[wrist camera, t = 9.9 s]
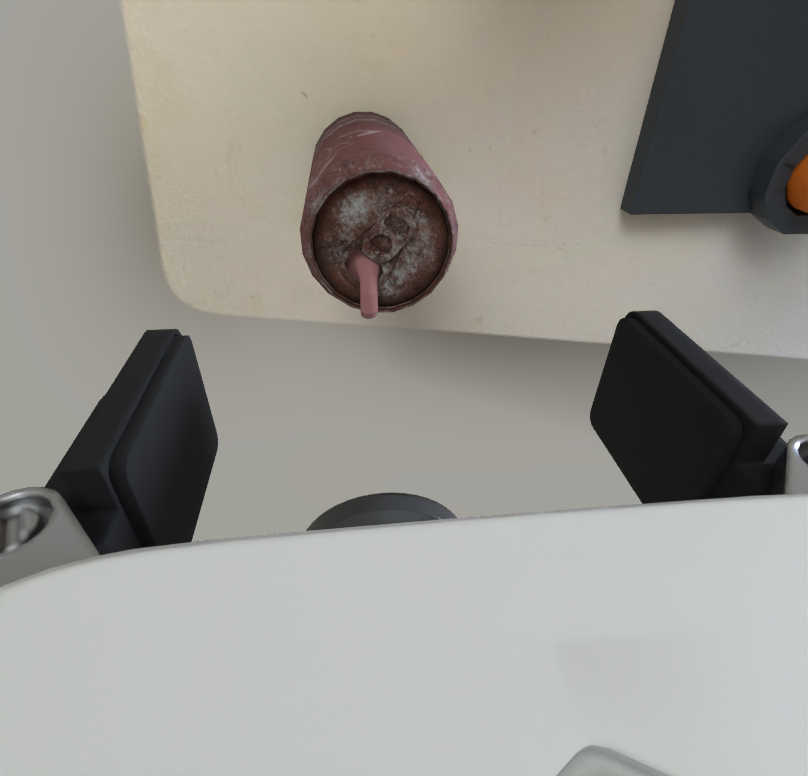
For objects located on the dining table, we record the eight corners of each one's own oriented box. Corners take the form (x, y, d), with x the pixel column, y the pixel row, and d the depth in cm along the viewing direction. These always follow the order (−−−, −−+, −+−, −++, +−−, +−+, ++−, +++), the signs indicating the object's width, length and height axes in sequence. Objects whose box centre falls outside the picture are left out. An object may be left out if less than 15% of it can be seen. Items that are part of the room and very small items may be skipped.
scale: (809, 219, 35) (844, 232, 32) (615, 223, 33) (637, 237, 31) (935, -40, 27) (995, -48, 24) (688, -50, 25) (725, -60, 23)
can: (316, 223, 31) (306, 329, 20) (309, 108, 27) (291, 158, 16) (411, 223, 32) (454, 326, 20) (416, 112, 28) (471, 161, 17)
